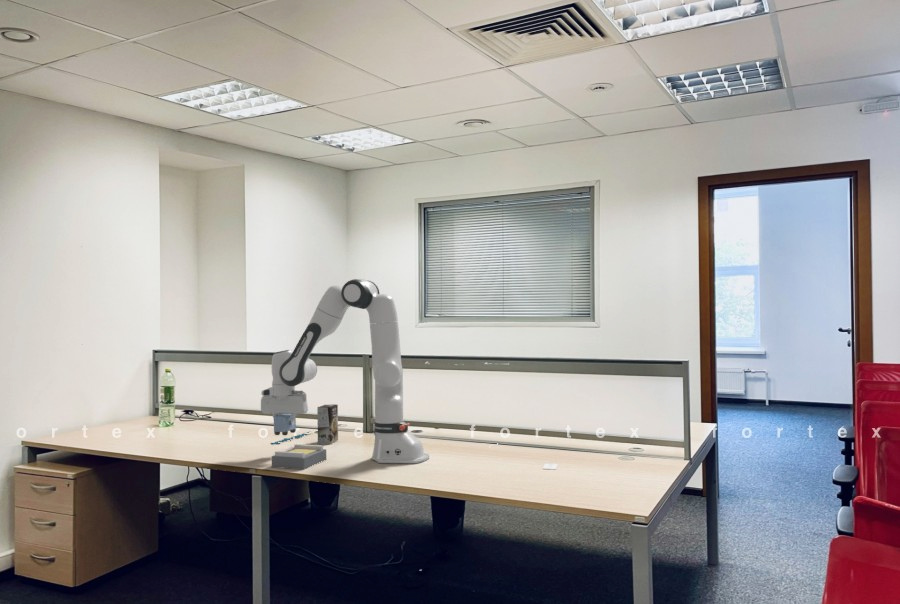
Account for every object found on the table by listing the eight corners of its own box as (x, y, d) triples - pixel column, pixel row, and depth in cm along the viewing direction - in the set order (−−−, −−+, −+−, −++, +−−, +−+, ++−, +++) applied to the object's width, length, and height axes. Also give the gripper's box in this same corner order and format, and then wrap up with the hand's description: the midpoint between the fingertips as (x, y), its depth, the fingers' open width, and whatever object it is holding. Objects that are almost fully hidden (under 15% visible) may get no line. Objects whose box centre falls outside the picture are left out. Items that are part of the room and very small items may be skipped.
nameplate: (268, 444, 293) (277, 445, 291) (268, 443, 293) (277, 443, 291) (317, 430, 326) (326, 430, 324) (317, 428, 326) (326, 429, 324)
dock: (326, 459, 259) (326, 445, 259) (304, 469, 244) (303, 454, 244) (295, 457, 264) (295, 443, 264) (271, 467, 249) (271, 452, 249)
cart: (296, 432, 272) (295, 413, 272) (284, 435, 265) (284, 416, 265) (285, 431, 274) (284, 413, 274) (274, 435, 266) (273, 416, 266)
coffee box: (331, 444, 289) (330, 407, 289) (317, 444, 290) (316, 407, 291) (338, 440, 298) (338, 404, 298) (325, 439, 299) (324, 404, 299)
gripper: (310, 389, 269) (311, 423, 269) (267, 389, 276) (268, 422, 276) (301, 391, 263) (302, 426, 263) (257, 391, 270) (259, 425, 270)
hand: (284, 424), depth 269 cm, fingers closed on cart, 5 cm apart
